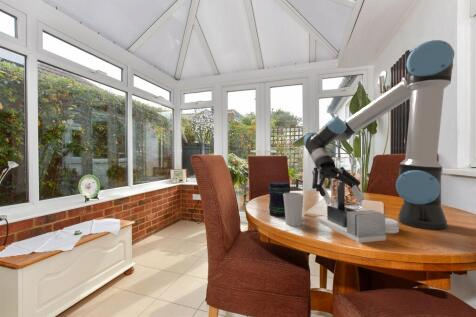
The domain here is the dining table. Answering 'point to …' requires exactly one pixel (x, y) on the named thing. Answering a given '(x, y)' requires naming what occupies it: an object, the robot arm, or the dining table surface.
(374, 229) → the sleeve and socket
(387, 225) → the coaster
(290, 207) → the cup
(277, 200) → the storage jar
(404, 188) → the robot arm
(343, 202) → the dark grey l-shaped bracket
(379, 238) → the base board
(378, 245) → the dining table surface
